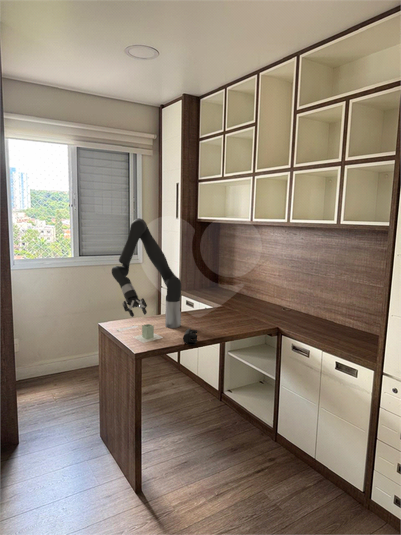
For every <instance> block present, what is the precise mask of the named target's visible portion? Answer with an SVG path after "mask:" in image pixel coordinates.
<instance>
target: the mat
mask: <svg viewBox="0 0 401 535" xmlns="http://www.w3.org/2000/svg"><path fill="white" fill-rule="evenodd" d="M136 328H139V326H138V325H132V326H127V327H123V328H118V329H116V332H121V331H122V332H123V331H127V330H131V329H136Z"/></svg>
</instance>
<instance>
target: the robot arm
mask: <svg viewBox="0 0 401 535" xmlns="http://www.w3.org/2000/svg"><path fill="white" fill-rule="evenodd" d="M140 240H141V242H142V244H143V247H144V251H145V253H146V255H147V257H148V258H149V260H150V261H151V262H150V263H152V265H153V266H154V268H155V269H156V270H157V272H158V273H159V274H160V276H161V278H162V280H163V283H164V285H165V287H166V296H165V323H164V324H165V325H164V326H165V327H166V328H167V329H177V328H179V327H180V326H182V312H181V295H182V281H181V279H180V278H179V277H177V276H176V274H174V272H173V271H172V269H171V267H170V265H169V264H168V263H169V262H168V261H167V260H168V259H167V257H166V255H165V253H164V252H163V250H162V248H161V247H160V245H159V244H158V242H157V241H156V240H155V238H154V236H153V235H152V233H151V231H150V229H149V227H148V224H147V223H146V221H145V220H144V219H143V218H135V219H134V220H133V221H131V223H130V229H129V232H128V237H127V239H126V242H125V244H124V247H123V249H122V251H121V253H120V256H119V258H118V262H119V263H120V264H121V265H114V266H112V268H111V275H112V277H113V279H114V280H115V281H116V282H117V283H118V285H119V287H120V289H121V292H122V295H123V296H124V301H123V302H122V307H123V309H124V312H128V313H129V316H130V317H131V318H134V316H135V314H134V312H133V310H132V308H139V309H140V310H141V311H142V313H143V315H147V307H148V304H147V302H146V300H145V298H144V297H143V298H141V299H139V296H138V293H137V291H136V289H135V287H134V285H133V283H132V281H131V279H130V278H129V277H128V275H129V272H130V265H131V264H130V263H131V261H132V258H133V256H134V254H135V250H136V247H137V245H138V242H139V241H140Z"/></svg>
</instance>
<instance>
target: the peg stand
mask: <svg viewBox="0 0 401 535" xmlns="http://www.w3.org/2000/svg"><path fill="white" fill-rule="evenodd" d="M132 338H133V339H135V340H137V341H139V342H140V343H142V344H144V343H148V342H152V341H156V340H160V339H163V338H164V337H163V336H161V335H159V334H157V333H155V332H154V338H150V339H145V338H143V337H142V334H140V335H135V336H132Z"/></svg>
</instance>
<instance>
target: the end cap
mask: <svg viewBox="0 0 401 535" xmlns="http://www.w3.org/2000/svg"><path fill="white" fill-rule="evenodd" d="M182 341H183V343H185V344H186V345H188V346H196V345H197V341H198V330H197V329H192V328H188V329H186V330H185V332H184V335H183V336H182Z"/></svg>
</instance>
